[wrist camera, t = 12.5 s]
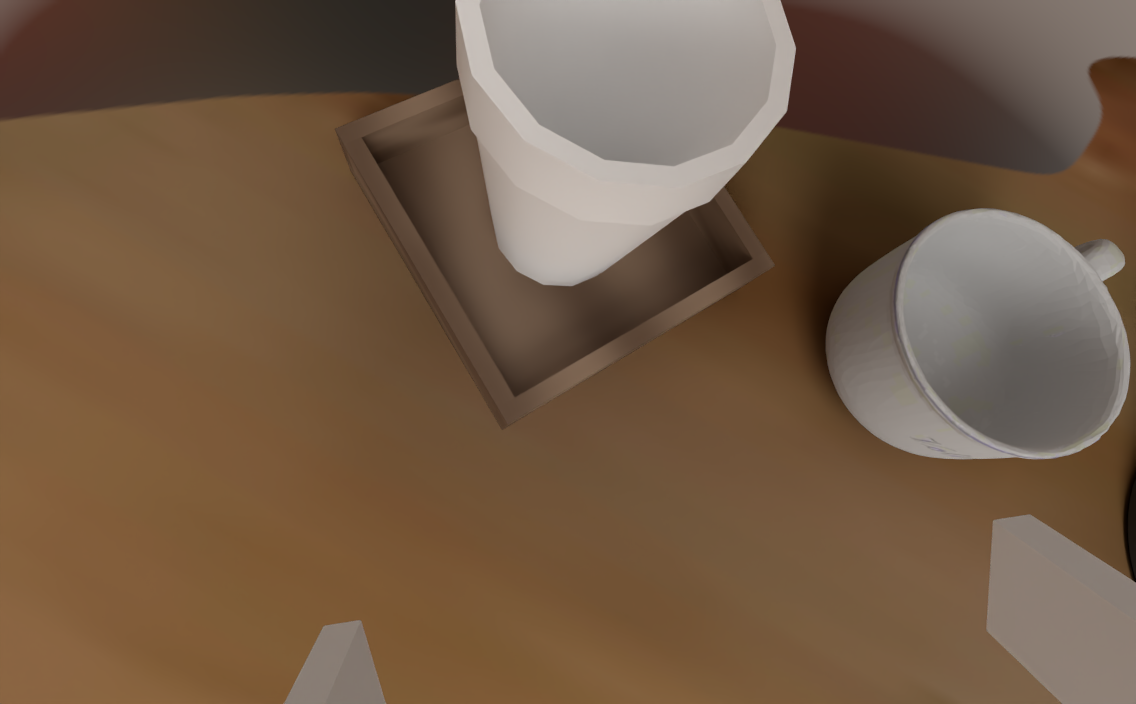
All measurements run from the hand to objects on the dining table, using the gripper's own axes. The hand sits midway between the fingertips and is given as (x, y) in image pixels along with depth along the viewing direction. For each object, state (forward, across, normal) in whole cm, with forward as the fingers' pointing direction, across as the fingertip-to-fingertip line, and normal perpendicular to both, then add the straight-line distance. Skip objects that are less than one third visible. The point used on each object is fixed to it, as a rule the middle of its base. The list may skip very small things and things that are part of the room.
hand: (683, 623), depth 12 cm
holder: (+20, -1, +7) cm, 21 cm away
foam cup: (+19, -1, +7) cm, 20 cm away
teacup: (+20, +17, -2) cm, 26 cm away
